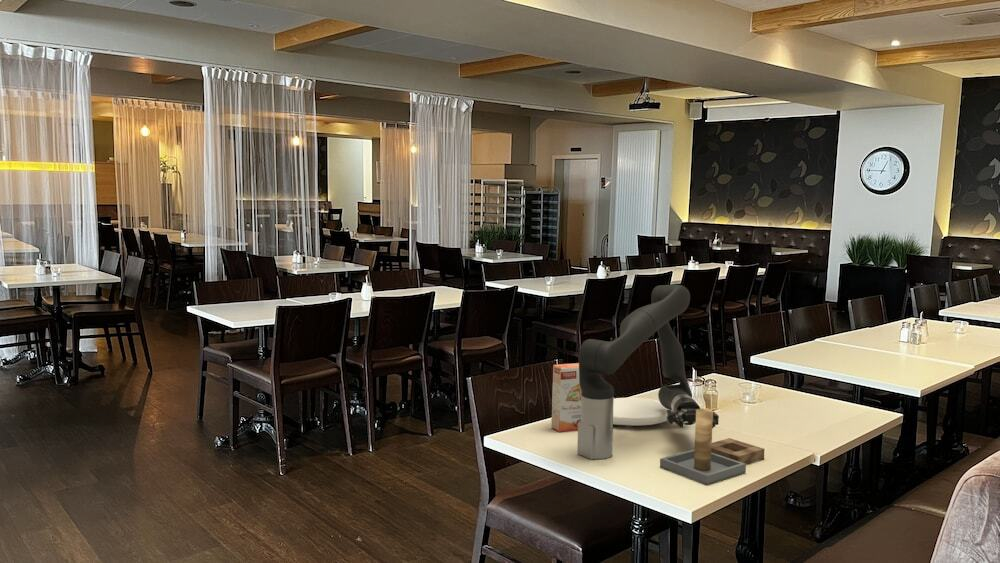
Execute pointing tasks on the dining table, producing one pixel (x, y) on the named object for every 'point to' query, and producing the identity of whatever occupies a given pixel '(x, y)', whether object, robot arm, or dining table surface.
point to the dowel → (703, 439)
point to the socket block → (738, 450)
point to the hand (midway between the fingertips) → (697, 424)
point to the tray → (719, 471)
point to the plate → (638, 411)
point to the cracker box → (566, 397)
